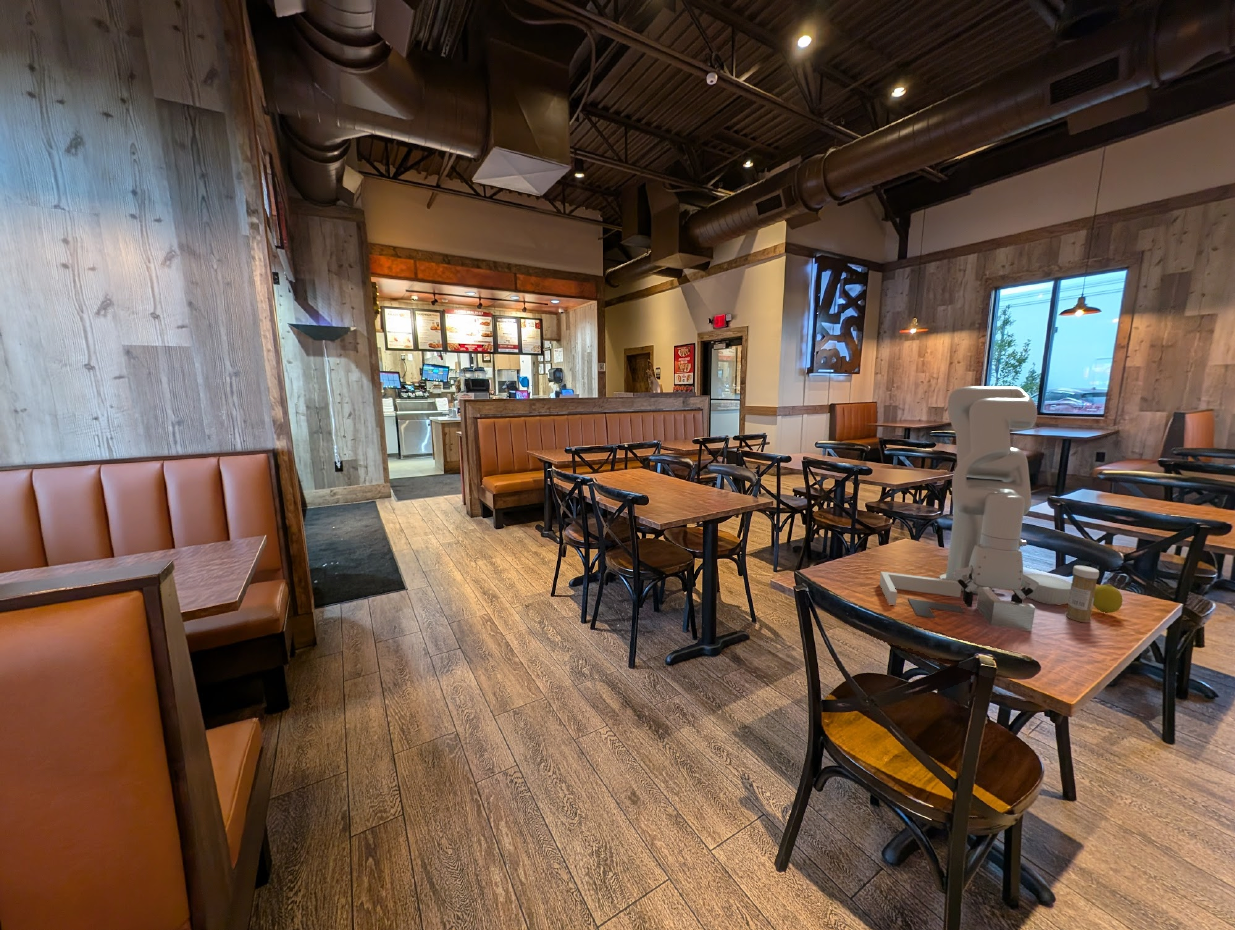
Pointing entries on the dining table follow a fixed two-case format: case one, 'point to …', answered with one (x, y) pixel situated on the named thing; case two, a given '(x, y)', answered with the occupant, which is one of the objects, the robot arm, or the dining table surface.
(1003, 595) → the dining table surface
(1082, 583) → the sprinkles bottle
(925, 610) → the pose mat
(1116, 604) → the lemon
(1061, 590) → the ramekin
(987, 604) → the angle bracket
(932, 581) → the light grey l-shaped block
